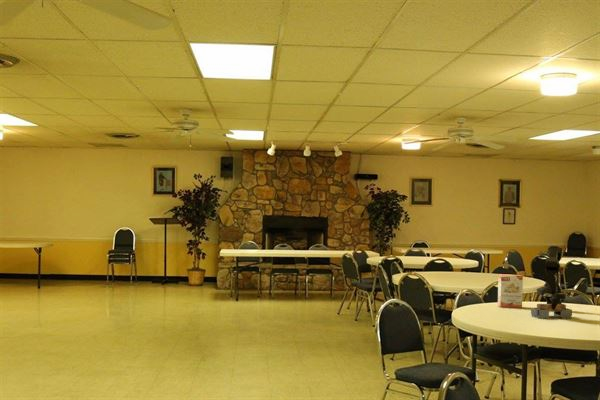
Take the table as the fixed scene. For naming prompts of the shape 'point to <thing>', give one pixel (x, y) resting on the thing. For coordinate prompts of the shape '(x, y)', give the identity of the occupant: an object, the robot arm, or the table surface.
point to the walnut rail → (549, 307)
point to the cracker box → (510, 290)
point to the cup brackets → (545, 314)
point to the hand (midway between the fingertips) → (551, 309)
